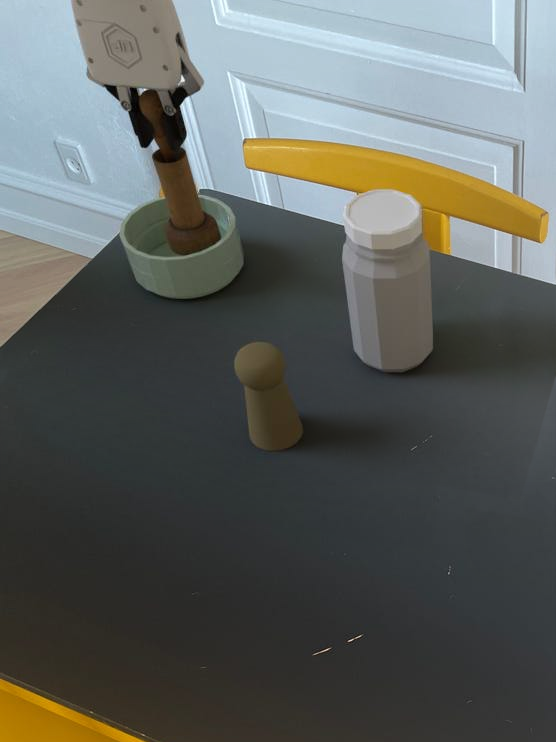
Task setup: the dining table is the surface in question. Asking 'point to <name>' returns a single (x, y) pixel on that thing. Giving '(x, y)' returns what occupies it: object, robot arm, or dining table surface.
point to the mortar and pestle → (178, 188)
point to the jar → (388, 280)
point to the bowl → (171, 270)
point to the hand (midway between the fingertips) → (163, 142)
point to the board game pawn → (267, 397)
